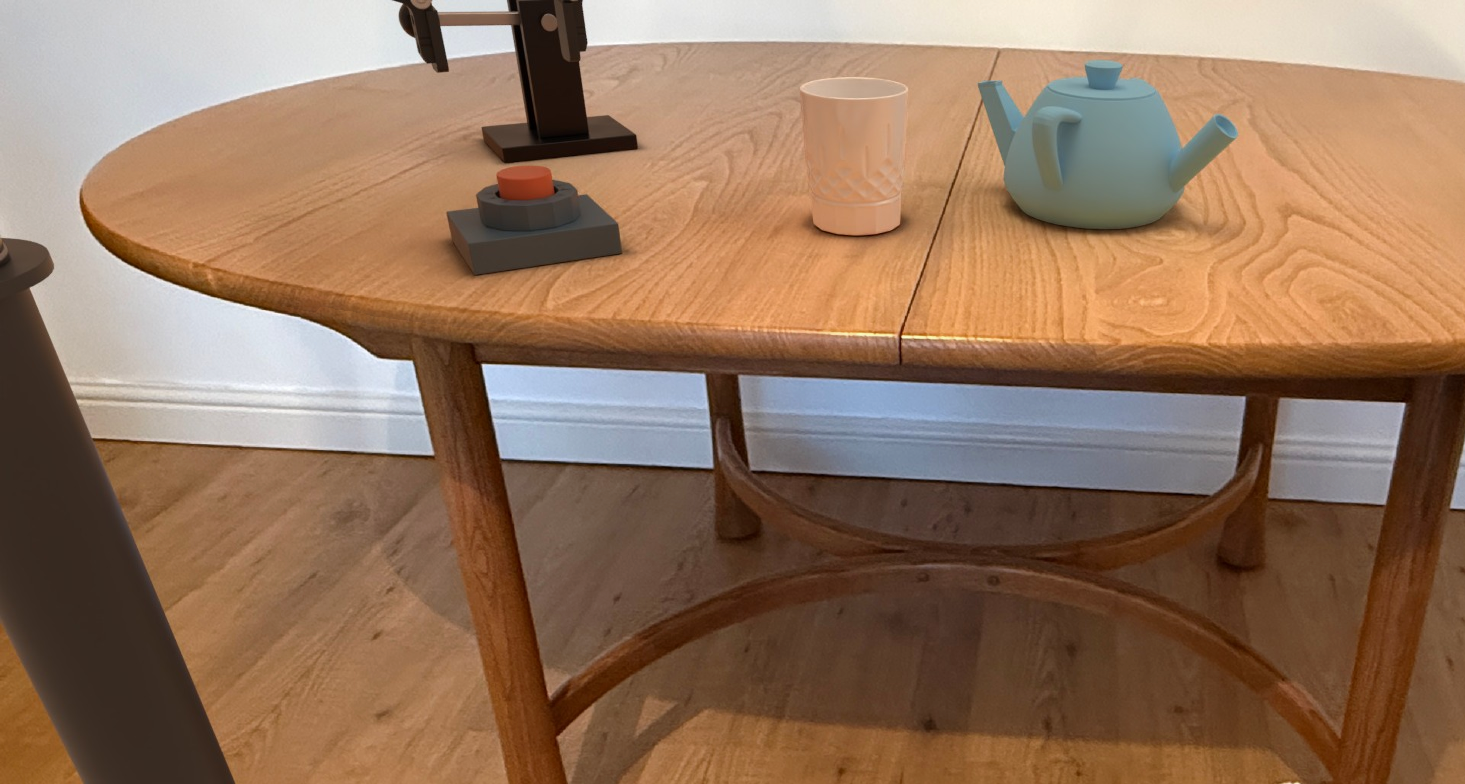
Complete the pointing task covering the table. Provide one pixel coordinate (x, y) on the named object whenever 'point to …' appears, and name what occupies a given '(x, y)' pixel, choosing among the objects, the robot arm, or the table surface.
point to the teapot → (1098, 149)
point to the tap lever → (462, 19)
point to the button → (525, 183)
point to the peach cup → (855, 152)
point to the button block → (532, 230)
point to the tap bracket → (551, 97)
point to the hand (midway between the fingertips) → (507, 65)
